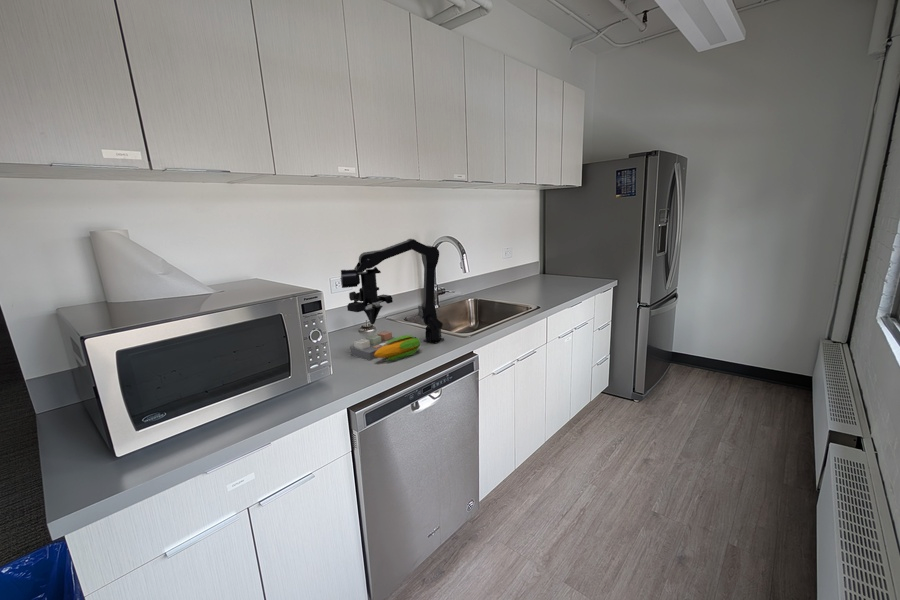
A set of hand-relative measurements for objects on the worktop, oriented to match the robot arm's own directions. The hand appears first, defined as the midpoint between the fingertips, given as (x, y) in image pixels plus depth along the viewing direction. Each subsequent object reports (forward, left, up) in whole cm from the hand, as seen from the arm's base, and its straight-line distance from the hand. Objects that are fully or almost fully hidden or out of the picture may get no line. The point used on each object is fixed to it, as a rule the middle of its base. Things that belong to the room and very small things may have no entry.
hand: (372, 324), depth 158 cm
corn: (+1, +14, -11) cm, 18 cm away
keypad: (0, +2, -11) cm, 11 cm away
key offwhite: (+6, 0, -9) cm, 11 cm away
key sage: (0, 0, -9) cm, 9 cm away
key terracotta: (-6, 0, -9) cm, 11 cm away
